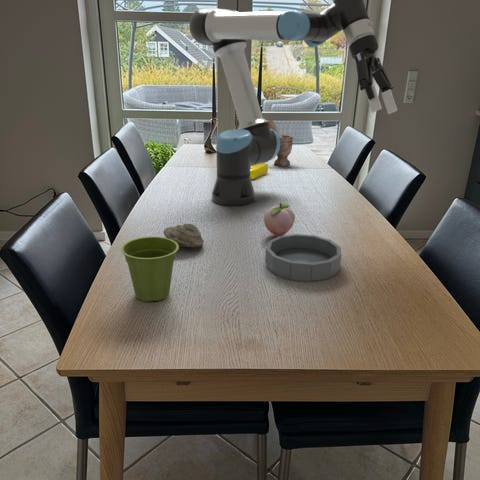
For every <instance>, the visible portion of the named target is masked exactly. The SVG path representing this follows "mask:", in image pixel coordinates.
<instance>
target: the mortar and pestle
mask: <svg viewBox="0 0 480 480" xmlns="http://www.w3.org/2000/svg"><path fill="white" fill-rule="evenodd" d="M267 121H268V122H269V126H270V129H273V130H274V131H275V132H277V134H278V136H279V139H280V149H279V152H278V154H277V155H276V157H277V158H276V159H275V160H274V163H273V164H274V166H275V167H276V166H277V167H290V166H291V162H290V160H289V156H290V154H291V152H292V149H293V135H290V134H280V132H279V130H278V129H277V127H276V126H277V125H276V124H275V122H274V120H273V119H269V120H267Z"/></svg>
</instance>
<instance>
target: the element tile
mask: <svg viewBox="0 0 480 480" xmlns="http://www.w3.org/2000/svg"><path fill="white" fill-rule="evenodd" d="M268 169H269V164H268V163H267V162H265V163H260V164H257V165H253V166H251V173H250V178H251V181H252V180H255V179H256V180H257V179H258V178H260V177H261V178H262V176H265V175H267V174H268V171H269V170H268Z"/></svg>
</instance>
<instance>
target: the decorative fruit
mask: <svg viewBox="0 0 480 480" xmlns="http://www.w3.org/2000/svg"><path fill="white" fill-rule="evenodd" d="M290 207H291V205H289V204H288V203H282V202H280V203H279V205H274V206H271V207H270V208H268V209H267V211H266V212H265V213H264V217H263V222H264V226H265V228H266V229H267V231H268V232H269V233H271V234H272V235H274V236H276V237H279V236H284V235H286V234H287V233H288V232H289V231H290V230H291V229H292V228H293V225H294V223H295V221H296V220H295V219H296V216H295V215H296V214H295V212H294V211H293V210H292V209H291V208H290Z"/></svg>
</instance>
